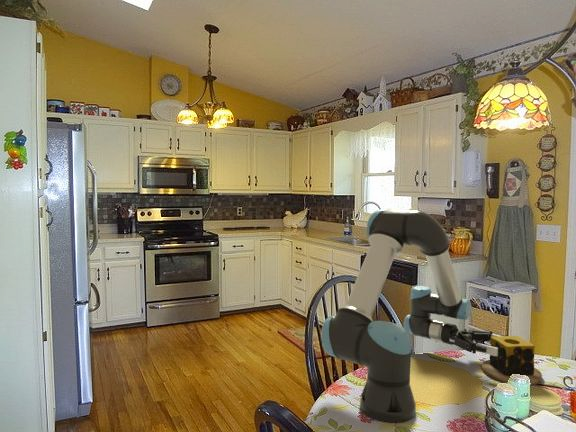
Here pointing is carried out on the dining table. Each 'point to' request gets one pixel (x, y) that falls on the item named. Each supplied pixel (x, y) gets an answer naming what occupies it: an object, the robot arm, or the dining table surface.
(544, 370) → the dining table surface
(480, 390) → the dining table surface
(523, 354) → the yellow spotted cube
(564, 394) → the dining table surface
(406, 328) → the robot arm
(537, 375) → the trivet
